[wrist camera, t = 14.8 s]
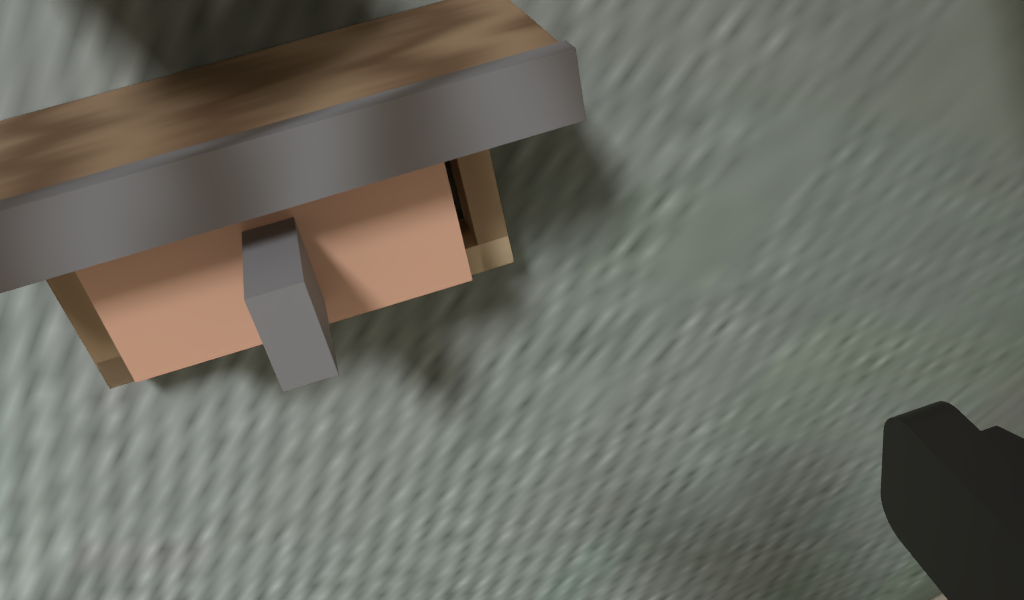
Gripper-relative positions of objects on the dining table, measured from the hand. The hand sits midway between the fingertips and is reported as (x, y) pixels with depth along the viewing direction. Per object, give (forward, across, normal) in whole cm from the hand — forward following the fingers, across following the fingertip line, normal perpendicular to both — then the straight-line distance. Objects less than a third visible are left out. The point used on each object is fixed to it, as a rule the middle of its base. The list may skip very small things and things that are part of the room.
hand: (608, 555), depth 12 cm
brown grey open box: (+31, +7, +7) cm, 32 cm away
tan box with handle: (+31, +7, +7) cm, 32 cm away
